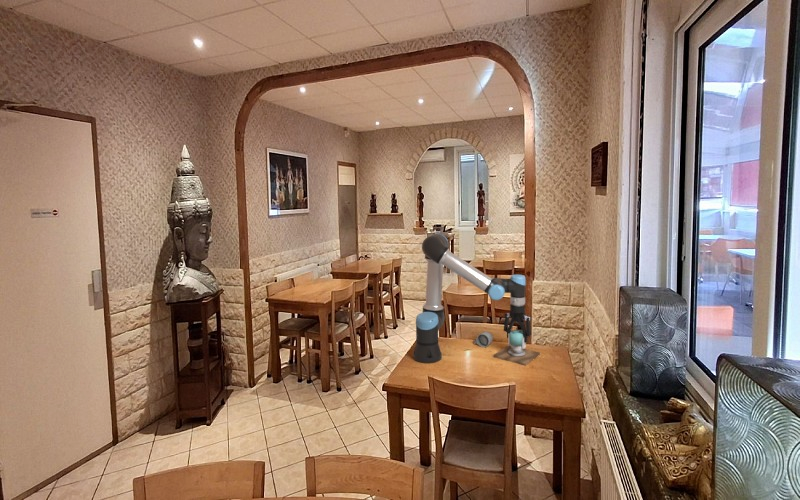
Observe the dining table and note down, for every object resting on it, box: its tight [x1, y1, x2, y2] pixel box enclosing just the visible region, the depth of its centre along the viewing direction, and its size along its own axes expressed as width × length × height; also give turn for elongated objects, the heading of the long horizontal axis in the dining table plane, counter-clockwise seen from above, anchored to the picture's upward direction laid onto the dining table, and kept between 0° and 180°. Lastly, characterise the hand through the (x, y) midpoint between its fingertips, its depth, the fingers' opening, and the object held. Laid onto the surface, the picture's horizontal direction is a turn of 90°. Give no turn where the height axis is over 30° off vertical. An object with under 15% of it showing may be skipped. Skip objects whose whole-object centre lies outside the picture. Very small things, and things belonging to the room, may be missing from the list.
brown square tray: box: [492, 344, 541, 367], centre depth 221 cm, size 18×18×7 cm
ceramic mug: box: [473, 331, 494, 348], centre depth 238 cm, size 11×8×8 cm
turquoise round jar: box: [510, 329, 524, 346], centre depth 220 cm, size 7×7×7 cm
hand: (516, 346), depth 221 cm, fingers closed on turquoise round jar, 7 cm apart
